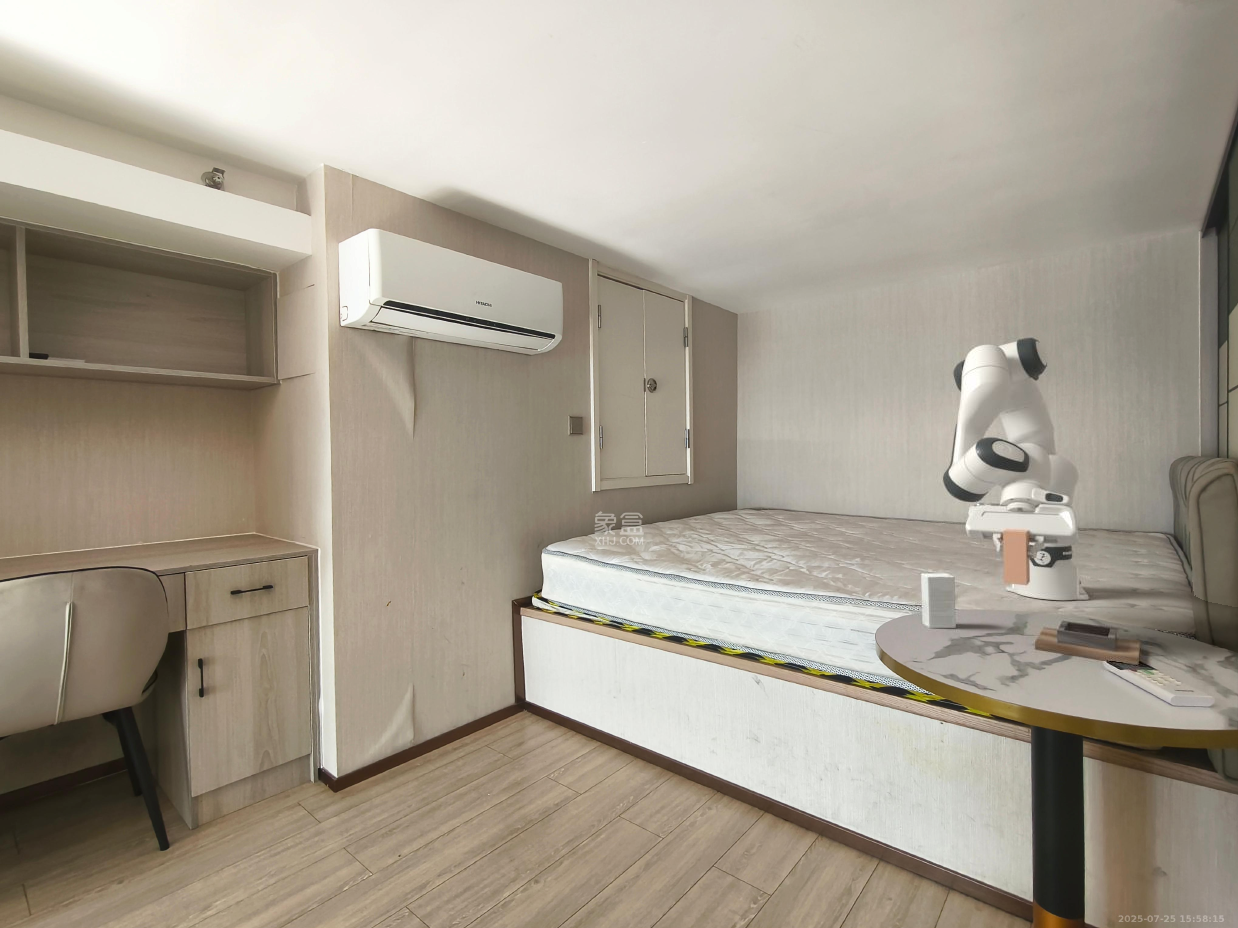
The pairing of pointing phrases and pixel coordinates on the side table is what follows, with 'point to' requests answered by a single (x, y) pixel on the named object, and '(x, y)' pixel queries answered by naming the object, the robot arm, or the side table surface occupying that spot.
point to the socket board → (1088, 642)
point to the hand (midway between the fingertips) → (1016, 555)
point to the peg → (1016, 556)
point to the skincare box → (938, 600)
